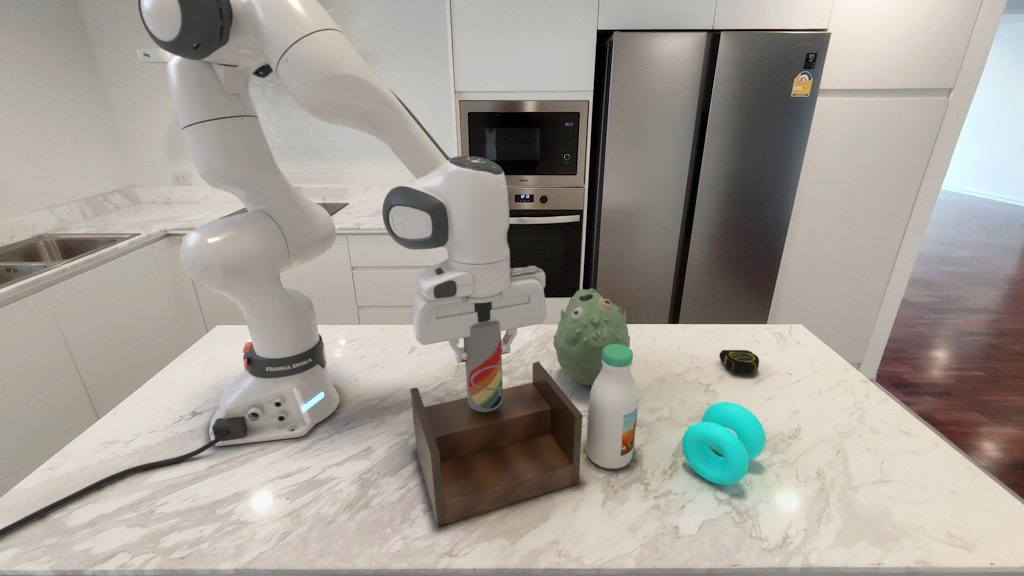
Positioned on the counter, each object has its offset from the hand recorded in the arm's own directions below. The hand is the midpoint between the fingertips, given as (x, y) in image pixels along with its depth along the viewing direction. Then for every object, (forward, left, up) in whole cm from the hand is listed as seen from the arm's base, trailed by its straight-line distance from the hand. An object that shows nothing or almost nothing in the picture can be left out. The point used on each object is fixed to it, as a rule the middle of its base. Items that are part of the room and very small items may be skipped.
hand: (482, 356), depth 75 cm
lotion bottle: (0, 0, -9) cm, 9 cm away
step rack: (0, -4, -19) cm, 19 cm away
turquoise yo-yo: (+34, -17, -19) cm, 43 cm away
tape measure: (+59, +5, -19) cm, 62 cm away
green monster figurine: (+27, +13, -19) cm, 35 cm away
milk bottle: (+19, -8, -19) cm, 28 cm away
